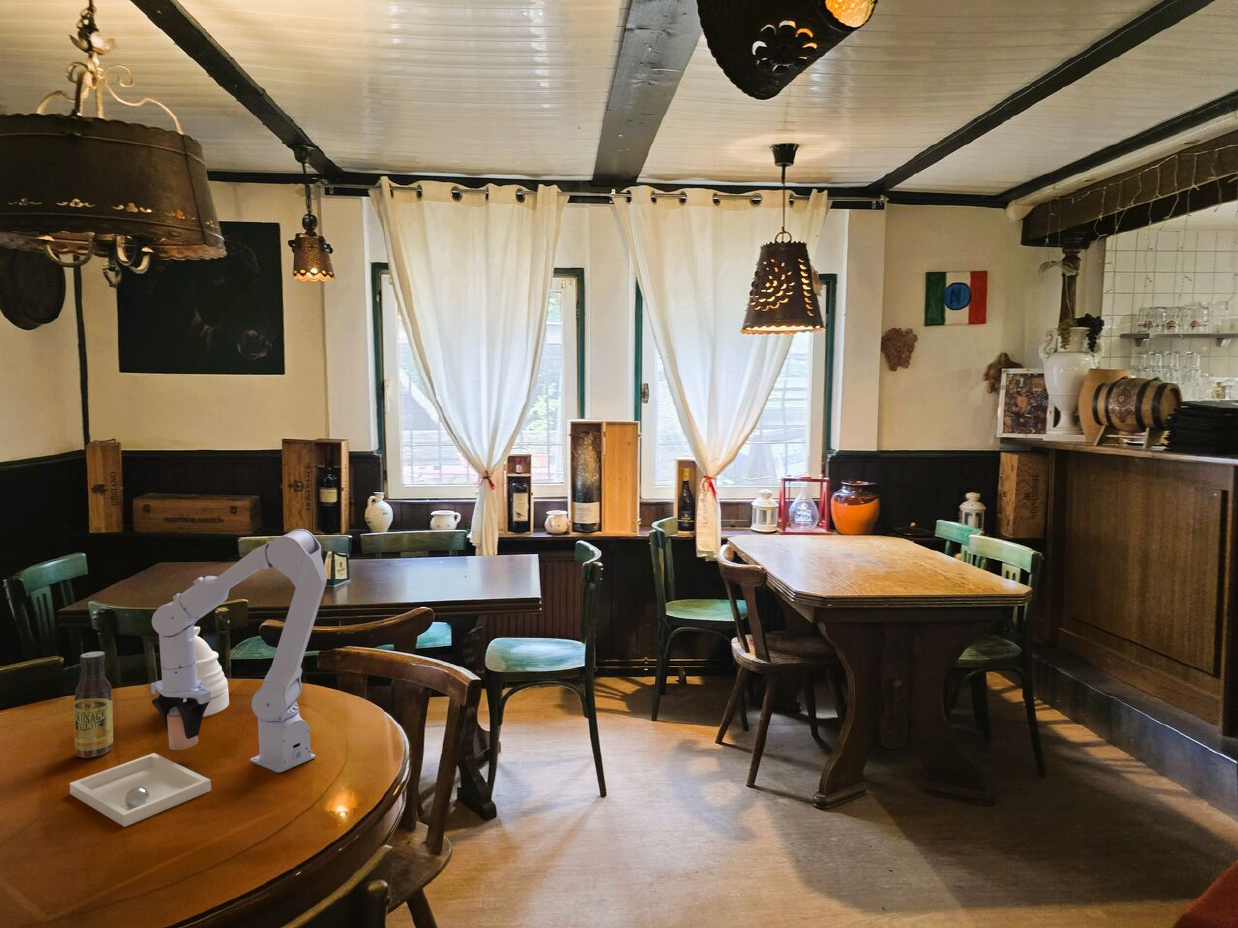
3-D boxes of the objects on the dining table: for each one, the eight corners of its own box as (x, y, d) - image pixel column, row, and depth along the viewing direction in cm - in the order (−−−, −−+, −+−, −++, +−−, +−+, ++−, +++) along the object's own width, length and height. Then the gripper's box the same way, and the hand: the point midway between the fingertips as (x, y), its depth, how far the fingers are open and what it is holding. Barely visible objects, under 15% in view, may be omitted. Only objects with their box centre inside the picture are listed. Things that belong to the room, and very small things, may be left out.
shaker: (203, 742, 148) (200, 706, 148) (177, 752, 144) (174, 715, 144) (190, 736, 151) (187, 701, 151) (164, 746, 147) (161, 710, 147)
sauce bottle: (70, 761, 150) (63, 660, 148) (83, 748, 156) (76, 651, 154) (109, 757, 151) (102, 657, 150) (120, 743, 157) (114, 647, 156)
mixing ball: (153, 806, 131) (152, 786, 131) (131, 815, 128) (130, 794, 128) (143, 800, 133) (142, 780, 133) (121, 809, 130) (120, 789, 130)
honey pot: (168, 703, 179) (163, 626, 178) (230, 694, 184) (226, 619, 183) (160, 723, 167) (155, 641, 166) (227, 713, 172) (223, 634, 171)
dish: (211, 793, 136) (210, 779, 136) (124, 830, 125) (123, 815, 124) (154, 765, 147) (154, 752, 147) (70, 796, 136) (69, 782, 136)
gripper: (223, 662, 147) (228, 732, 148) (173, 653, 153) (178, 720, 154) (188, 674, 141) (193, 747, 142) (138, 664, 147) (143, 734, 148)
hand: (183, 734), depth 148 cm, fingers closed on shaker, 5 cm apart
